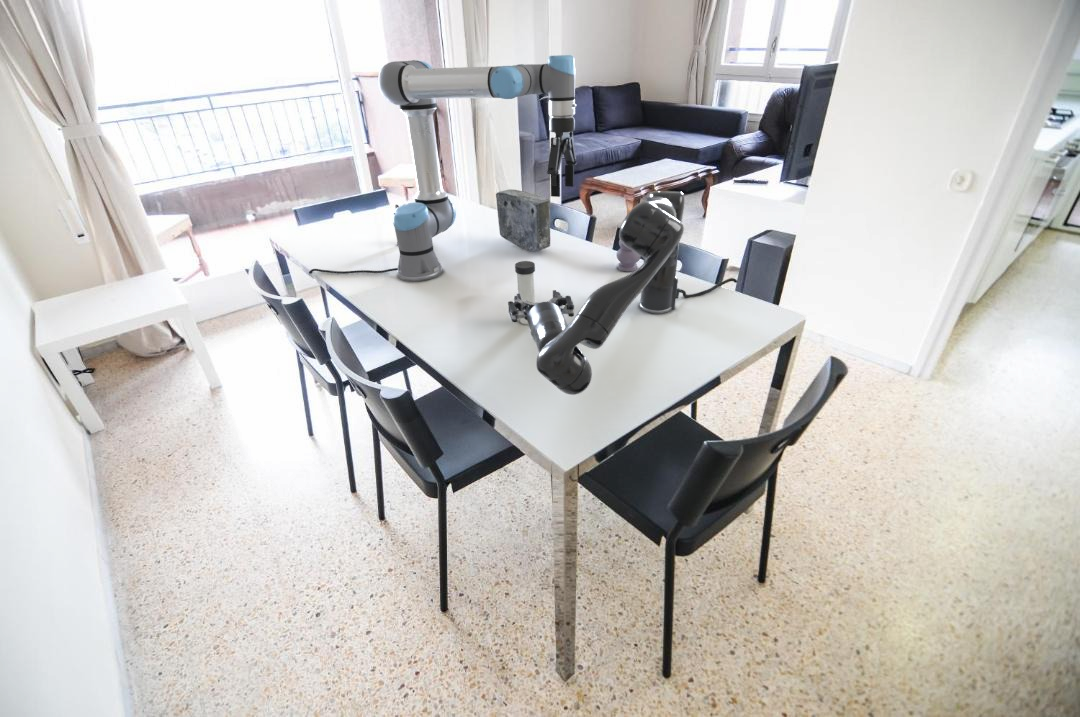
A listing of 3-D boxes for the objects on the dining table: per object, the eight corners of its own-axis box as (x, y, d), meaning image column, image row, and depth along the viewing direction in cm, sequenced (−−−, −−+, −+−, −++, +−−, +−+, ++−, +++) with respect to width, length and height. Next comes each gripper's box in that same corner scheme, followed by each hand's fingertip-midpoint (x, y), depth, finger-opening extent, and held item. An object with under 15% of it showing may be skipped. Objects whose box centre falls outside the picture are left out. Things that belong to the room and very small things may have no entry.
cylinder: (520, 325, 140) (517, 269, 131) (519, 318, 144) (515, 263, 135) (536, 323, 141) (534, 268, 132) (534, 316, 144) (532, 262, 136)
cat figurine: (644, 267, 174) (647, 233, 167) (631, 274, 169) (634, 239, 163) (624, 262, 179) (626, 229, 172) (611, 268, 174) (612, 234, 168)
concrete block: (555, 253, 189) (554, 199, 179) (537, 258, 185) (534, 204, 174) (517, 236, 208) (514, 187, 197) (499, 241, 203) (495, 191, 193)
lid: (516, 275, 132) (515, 268, 131) (514, 268, 136) (513, 261, 135) (536, 273, 132) (536, 267, 131) (533, 266, 137) (533, 260, 136)
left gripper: (560, 121, 134) (561, 201, 145) (586, 112, 154) (585, 183, 165) (534, 121, 137) (537, 200, 148) (563, 112, 156) (564, 181, 167)
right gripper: (582, 306, 101) (565, 277, 115) (512, 313, 100) (504, 283, 113) (581, 338, 105) (566, 307, 119) (515, 346, 103) (507, 313, 117)
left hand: (562, 191), depth 156 cm, fingers open, 13 cm apart
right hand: (536, 295), depth 116 cm, fingers open, 8 cm apart
